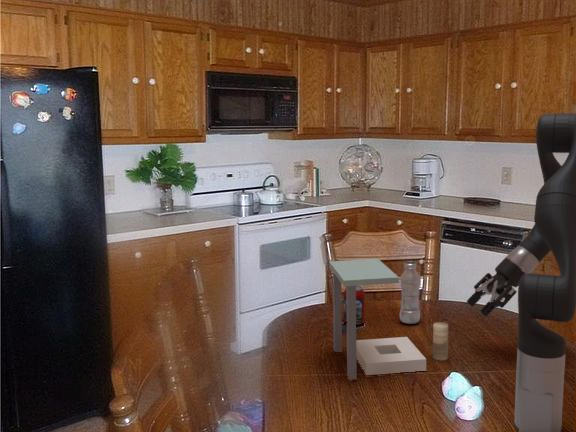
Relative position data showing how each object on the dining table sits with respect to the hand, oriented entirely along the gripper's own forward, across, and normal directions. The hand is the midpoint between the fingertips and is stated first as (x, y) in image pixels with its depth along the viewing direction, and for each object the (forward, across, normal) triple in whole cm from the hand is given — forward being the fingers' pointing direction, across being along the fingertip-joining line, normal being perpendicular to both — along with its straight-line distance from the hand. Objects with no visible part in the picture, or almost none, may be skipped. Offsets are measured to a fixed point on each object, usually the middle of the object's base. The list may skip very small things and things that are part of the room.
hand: (475, 309), depth 160 cm
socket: (+27, 0, -8) cm, 28 cm away
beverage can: (+29, -31, -10) cm, 43 cm away
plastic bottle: (+16, -28, +3) cm, 32 cm away
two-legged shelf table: (+32, 0, -13) cm, 35 cm away
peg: (+16, 0, +2) cm, 17 cm away
